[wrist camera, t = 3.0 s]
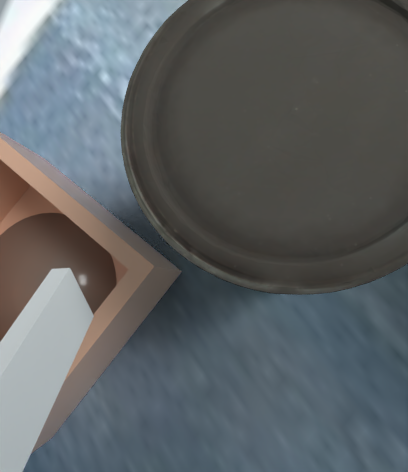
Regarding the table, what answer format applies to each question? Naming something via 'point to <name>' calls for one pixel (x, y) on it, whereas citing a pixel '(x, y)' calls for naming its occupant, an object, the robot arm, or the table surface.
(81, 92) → the table surface
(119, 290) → the planter box
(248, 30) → the coffee can
